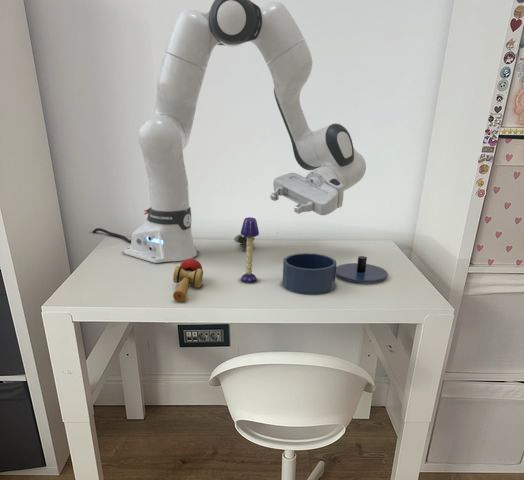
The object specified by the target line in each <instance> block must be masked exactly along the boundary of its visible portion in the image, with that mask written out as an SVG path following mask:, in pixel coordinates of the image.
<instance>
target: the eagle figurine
mask: <svg viewBox="0 0 524 480" xmlns="http://www.w3.org/2000/svg"><path fill="white" fill-rule="evenodd" d="M255 237H257V236H255ZM255 237H253V240H252V241H253V242H254V241H255ZM234 242H235V243H239V245H240V246H243V247H242V252H244V251H245V250H246V248H247V236H243V235H241V233H240V234H238V235H236V236H234ZM252 247H253V249H254V248H255V247H254V245H253V246H252Z"/></svg>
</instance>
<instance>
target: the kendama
mask: <svg viewBox="0 0 524 480" xmlns="http://www.w3.org/2000/svg"><path fill="white" fill-rule="evenodd" d="M203 276H204V269H203V266H202V264H201V262H200V261H199V260H197V259H195V258H190V259H186V260H182V262H181V264H180V265H176V266H175V268H174V271H173V277H172V281H173V283H174V284H178V285H177V287H176V288H175V290H174V292H173V293H172V298H173V299H174V301H176V302H177V303H183V302H184V301H185V299H186V296H187V291H188V289H189V284H190V283H191V284H192V285H193V286H194V287H195V288H199V289H200V288H201V286H202V282H203V278H204V277H203Z"/></svg>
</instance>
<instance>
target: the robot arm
mask: <svg viewBox="0 0 524 480" xmlns="http://www.w3.org/2000/svg"><path fill="white" fill-rule="evenodd" d="M248 42H249V43H251V44H254V46H256V48H257V49H258V50H259V52H260V54H261V56H262V58H263V60H264V62H265V64H266V65H267V68H268V70H269V72H270V75H271V78H272V83H273V95H274V99H275V103H276V105H277V108H278V111H279V113H280V116H281V119H282V121H283V124H284V126H285V128H286V132H287V133H288V136H289V138H290V142H291V145H292V152H293V156H294V159H295V161H296V163H297V164H298V166H300V167H301V168H302V169H303V170H305V171H310V172H308V173H307V174H306V176H302V175H301V174H298V173H296V172H289V173H285V174H282V175H280V176H277V177H275V178H274V179H273V182H272V183H273V186H272V187H273V192H271V193H270V195H269V196H270V197H269V198H270V200H272V201H274V202H276V201H278V200H280V197H284V198H286V199H289V200H290V201H292V202H293V203H295V204H296V203H297V204H296V205H294V207H293V208H294V210H293V211H294V213H296V214H298V215H299V214H301V213H308V212H309V213H310V212H314V213H316V214H317V215H318V216H319V215H320V216H327V215H329V214H331V213H333V212H335V211H336V210H337V209H339V208H341V207H342V206H343V202H344V192H345V191H347V190H349V189H350V188H352V187H353V186H355V185H356V184H358V183H359V182H361V180H363V178H364V176H365V174H366V170H367V163H366V160H365V158H364V156H363V155H362V154H361V153H359V152H358V151H357V150H356V149H355V147H354V145H353V140H352V136H351V134H350V132H349V130H348V129H347V128H346V127H345V126H343V125H342V124H340V123H332V124H329V125H327V126H324V127H321V128H319V129H317V130H314V131H313V130H311V128H310V126H309V125H308V122H307V119H306V117H305V113H304V110H303V108H302V105H301V99H300V98H301V97H300V96H301V92H302V90H303V88H304V86H305V85H306V83H307V82H308V80H309V78H310V76H311V73H312V69H313V57H312V54H311V50H310V47H309V45H308V43H307V42H306V40H305V37H304V35H303V33H302V31H301V30H300V27H299V26H298V24H297V22H296V20H295V19H294V17H293V16H292V14H291V12H290V11H289V10H288V9H287V7H286V6H285V5H284V4H283V3H282V2H278V1H272V2H268V3H265V4H264V5H262V6H261V7H260V6H259V5H257V4H256V3H255V2H253V1H251V0H214V1H213V2H212V4H211V7H210V9H209V11H206V12H203V11H202V12H201V11H199V10H197V9H191V8H190V9H185V10H182V11H180V12H179V13H178V15H177V16H176V19H175V21H174V23H173V26H172V28H171V31H170V33H169V35H168V39H167V43H166V44H165V45H166V46H165V50H164V54H163V58H162V62H161V66H160V69H159V73H158V77H157V82H156V96H155V105H154V110H153V115H152V116H150V117H147V119H146V120H144V122H143V123H142V124H141V126H140V128H139V131H138V136H137V138H138V145H139V147H140V149H141V152H142V158H143V162H144V166H145V170H146V175H147V181H148V188H149V199H150V207H149V208H148V209H145V210H143V215H147V218H146V220H145V221H144V222H142V224H140V226H138V227H137V228H136V229H134V231H132V233H131V236H130V239H129V238H128V237H126V235H125V236H124V235H122V234H119V233H115V232H111V231H109V230H106V229H104V228H102V227H97V228H95V229H93V230H92V232H91V233H92V234H95V233H97V232H102V233H104V234H107V235H110V236H113V237H117V238H120V239H123V240H124V241H125V242H127V243H129V244H130V245H129V246H127V247H125V248H124V249H123V254H125V255H127V256H131V257H133V258H137V259H141V260H144V261H147V262H151V263H154V264H161V263H166V262H169V263H170V262H181V261H182V262H183V261H184V260H186V259H190V258H192V259H194V258H195V257H196V256H198V252H197V249H196V245H195V242H194V238H193V233H192V207H191V206H190V195H189V179H188V176H187V171H186V166H185V158H184V152H183V151H184V150H185V149H186V148H187V146H188V144H189V141H190V137H191V132H192V129H193V124H194V119H195V114H196V111H197V110H196V109H197V104H198V99H199V97H200V92H201V89H202V85H203V83H204V79H205V76H206V72H207V68H208V65H209V61H210V58H211V55H212V52H213V50H214V49H215V48H216V46H226V47H230V48H234V47H239V46H242V45H244V44H246V43H248Z"/></svg>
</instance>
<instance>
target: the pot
mask: <svg viewBox="0 0 524 480" xmlns="http://www.w3.org/2000/svg"><path fill="white" fill-rule="evenodd" d="M337 266H338V265H337V260H336V259H335V258H333V257H331V256H328V255H326V254H319V253H313V252H312V253H308V252H305V253H303V252H302V253H294V254H289V255H287V256H285V257H284V258H283V263H282V286H283V288H284V289H286V291H290V292H292V293H295V294H302V295H322V294H326V293H329V292H332V291H333V290H334V289H335V286H336V276H337V275H336V267H337Z"/></svg>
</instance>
